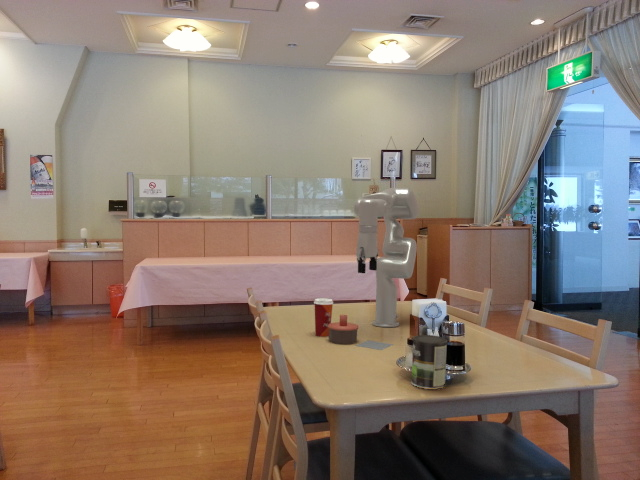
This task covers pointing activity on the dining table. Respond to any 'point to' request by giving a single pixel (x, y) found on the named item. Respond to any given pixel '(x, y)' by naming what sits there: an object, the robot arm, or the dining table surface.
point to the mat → (374, 345)
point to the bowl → (342, 336)
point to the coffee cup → (323, 316)
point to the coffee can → (429, 361)
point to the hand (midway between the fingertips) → (367, 271)
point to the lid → (343, 325)
